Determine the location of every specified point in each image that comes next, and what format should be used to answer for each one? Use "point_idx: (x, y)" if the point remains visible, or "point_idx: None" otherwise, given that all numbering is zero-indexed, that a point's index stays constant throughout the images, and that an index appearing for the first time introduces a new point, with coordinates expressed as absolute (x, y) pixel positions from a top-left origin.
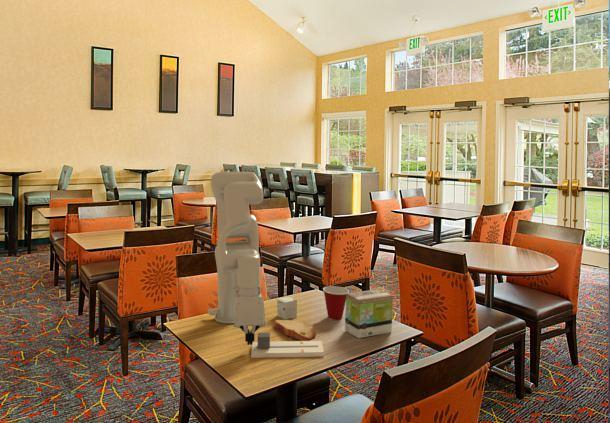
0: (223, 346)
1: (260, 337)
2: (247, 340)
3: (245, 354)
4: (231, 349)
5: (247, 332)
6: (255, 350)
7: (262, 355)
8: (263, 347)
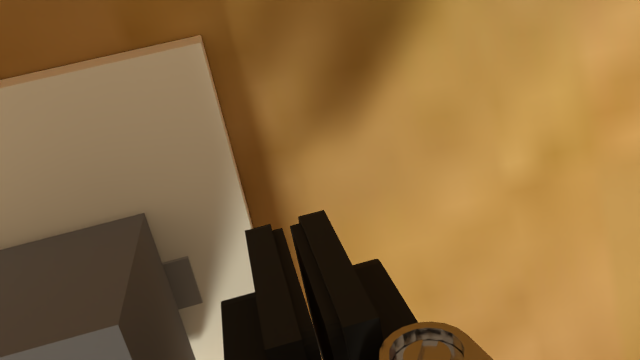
0: (620, 289)
1: (51, 338)
2: (335, 243)
3: (317, 131)
4: (523, 236)
5: (383, 352)
6: (169, 166)
7: (18, 78)
8: (43, 243)
